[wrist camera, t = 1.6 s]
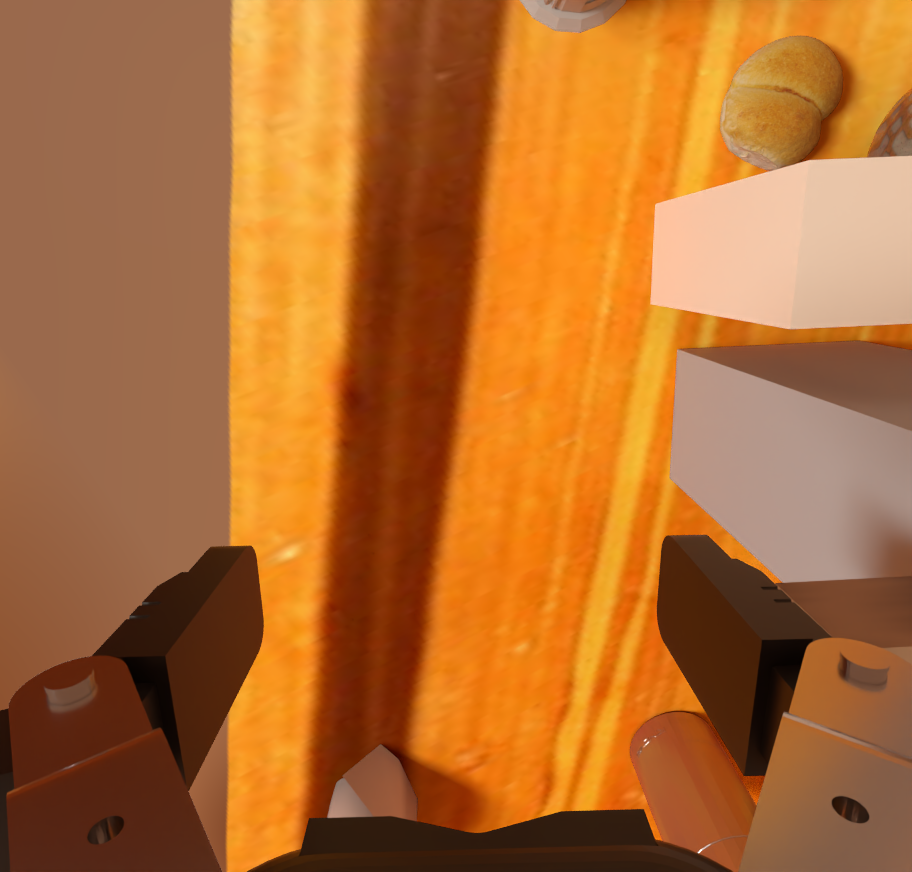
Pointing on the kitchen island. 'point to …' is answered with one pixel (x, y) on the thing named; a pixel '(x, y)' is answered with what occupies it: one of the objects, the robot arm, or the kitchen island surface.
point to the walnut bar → (860, 609)
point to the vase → (894, 131)
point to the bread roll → (781, 102)
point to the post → (792, 246)
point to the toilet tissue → (375, 789)
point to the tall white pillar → (801, 453)
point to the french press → (572, 13)
